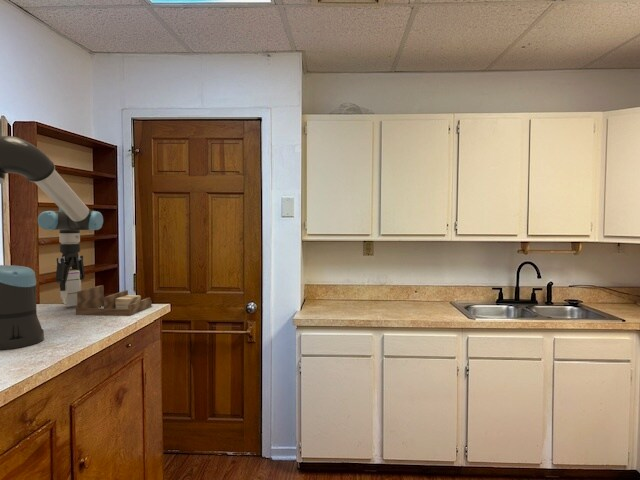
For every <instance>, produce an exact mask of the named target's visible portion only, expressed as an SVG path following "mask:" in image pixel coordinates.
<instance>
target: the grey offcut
mask: <svg viewBox="0 0 640 480" xmlns="http://www.w3.org/2000/svg"><path fill="white" fill-rule="evenodd" d="M116 309H128V306H116Z"/></svg>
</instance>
